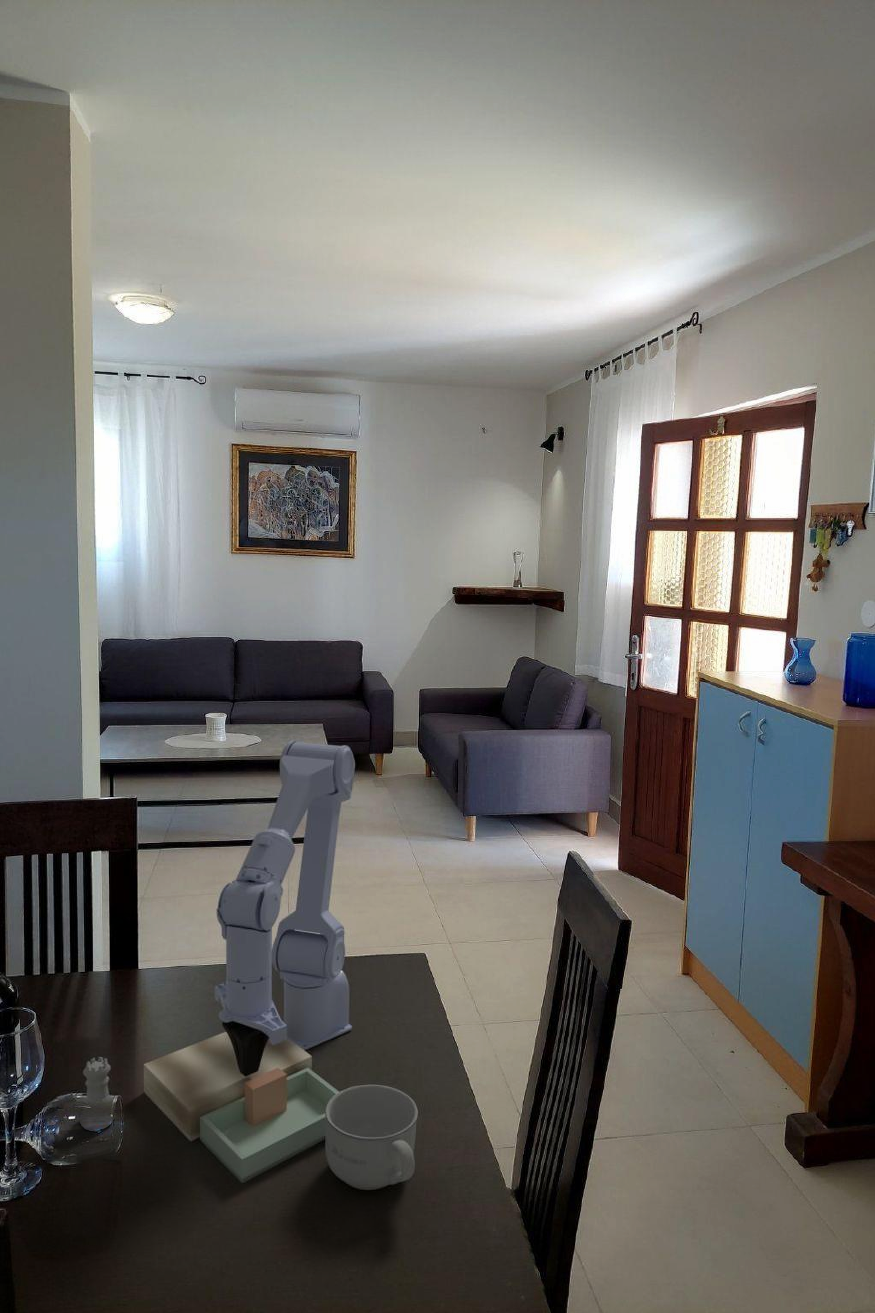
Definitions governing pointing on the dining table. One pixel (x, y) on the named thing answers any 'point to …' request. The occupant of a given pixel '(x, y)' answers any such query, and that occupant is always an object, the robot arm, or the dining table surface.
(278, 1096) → the tile
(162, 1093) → the beige banded block
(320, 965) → the robot arm
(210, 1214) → the dining table surface
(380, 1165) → the teacup
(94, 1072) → the rook chess piece
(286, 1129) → the box
